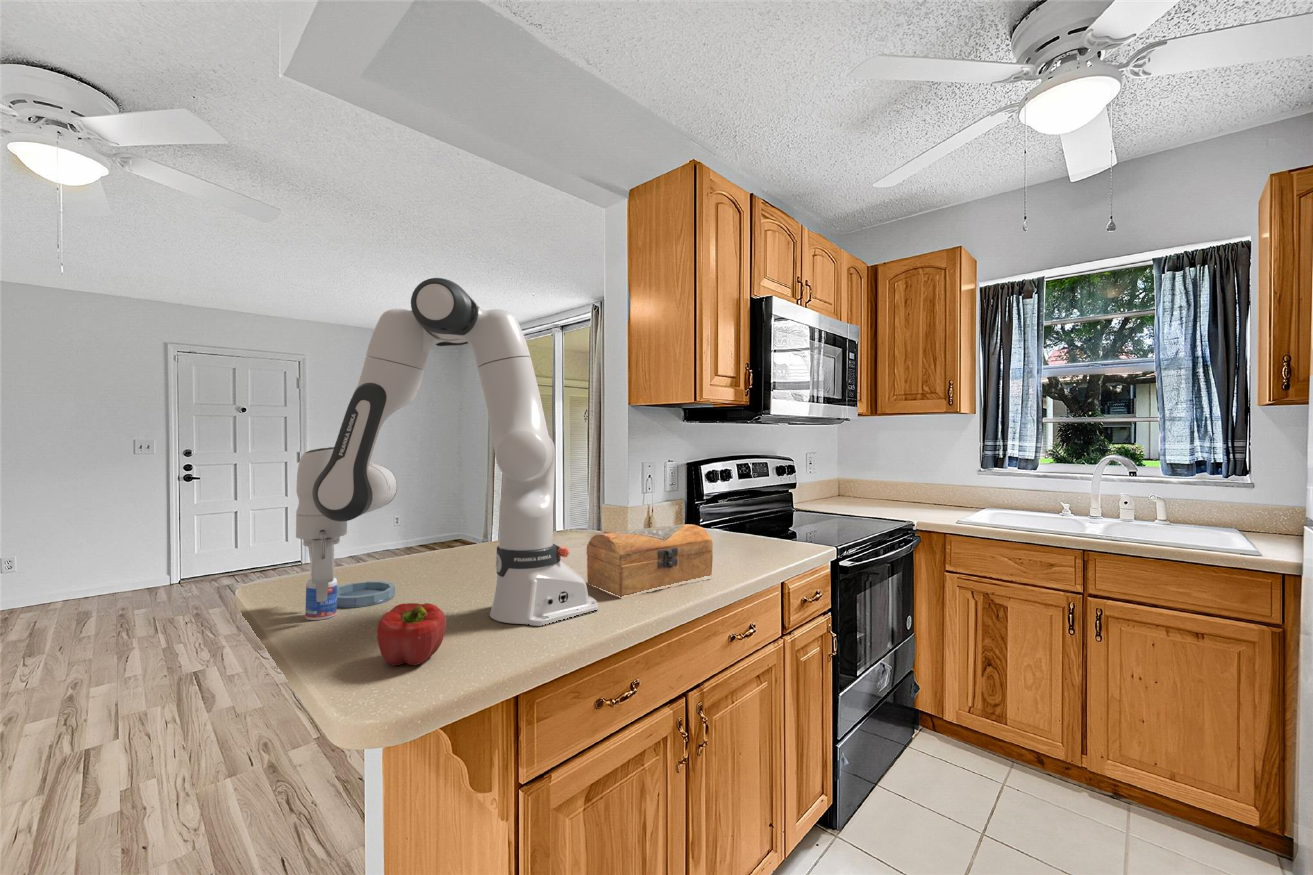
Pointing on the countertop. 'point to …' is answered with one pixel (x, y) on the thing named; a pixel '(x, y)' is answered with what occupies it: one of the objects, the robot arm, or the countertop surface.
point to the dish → (364, 594)
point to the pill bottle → (321, 608)
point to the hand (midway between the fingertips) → (321, 595)
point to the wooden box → (648, 558)
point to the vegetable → (410, 633)
